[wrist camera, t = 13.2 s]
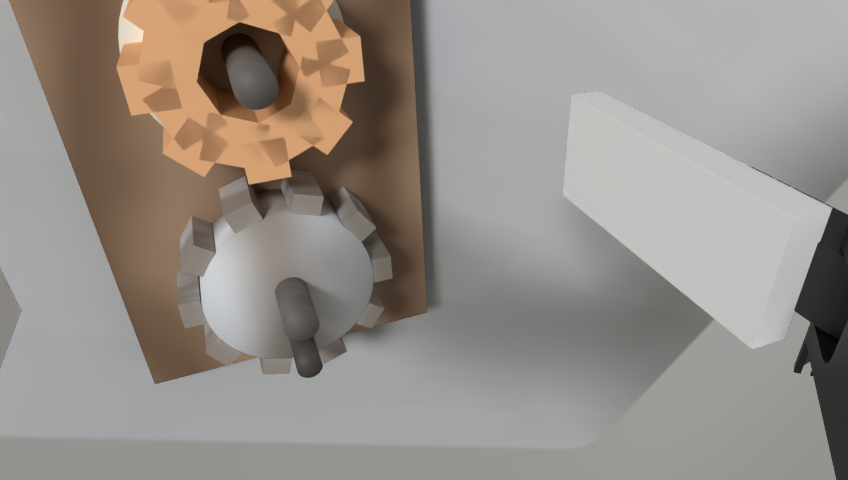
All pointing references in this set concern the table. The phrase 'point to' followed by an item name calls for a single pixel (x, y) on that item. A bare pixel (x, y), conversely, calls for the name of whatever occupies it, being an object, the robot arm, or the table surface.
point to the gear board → (243, 195)
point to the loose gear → (219, 109)
